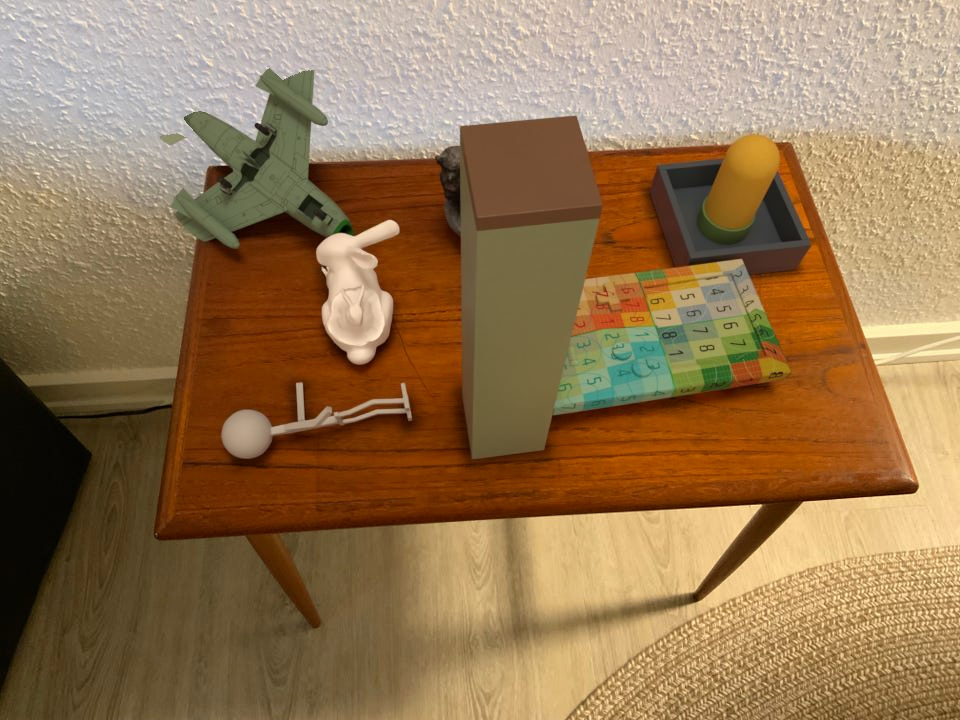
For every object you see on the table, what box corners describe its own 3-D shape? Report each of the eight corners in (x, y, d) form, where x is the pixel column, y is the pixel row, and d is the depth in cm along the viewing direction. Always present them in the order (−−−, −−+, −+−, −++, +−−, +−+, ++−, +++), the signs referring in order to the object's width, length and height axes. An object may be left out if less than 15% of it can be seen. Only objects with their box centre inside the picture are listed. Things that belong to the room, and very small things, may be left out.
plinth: (544, 450, 61) (603, 204, 35) (471, 459, 60) (476, 217, 34) (531, 386, 64) (576, 114, 37) (462, 394, 63) (459, 125, 37)
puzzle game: (524, 282, 63) (745, 252, 65) (520, 312, 67) (728, 283, 69) (554, 403, 58) (796, 366, 60) (548, 428, 62) (774, 392, 64)
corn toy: (755, 241, 71) (799, 160, 61) (705, 247, 70) (741, 166, 61) (739, 202, 73) (779, 118, 64) (690, 207, 73) (723, 123, 63)
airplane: (330, 236, 63) (379, 267, 73) (343, -9, 67) (388, 51, 76) (104, 253, 70) (176, 279, 80) (127, 30, 73) (193, 81, 83)
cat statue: (562, 208, 73) (574, 131, 65) (561, 265, 70) (574, 192, 61) (441, 200, 74) (438, 123, 65) (435, 257, 70) (430, 183, 61)
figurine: (397, 342, 58) (203, 377, 57) (410, 417, 56) (211, 454, 55) (402, 365, 64) (227, 397, 62) (414, 434, 62) (234, 468, 61)
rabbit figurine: (321, 265, 69) (301, 195, 61) (401, 255, 70) (392, 184, 62) (331, 377, 63) (310, 316, 55) (418, 364, 64) (411, 302, 56)
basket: (795, 270, 70) (812, 245, 67) (679, 283, 69) (690, 258, 66) (756, 180, 76) (769, 153, 72) (648, 191, 75) (657, 164, 71)
